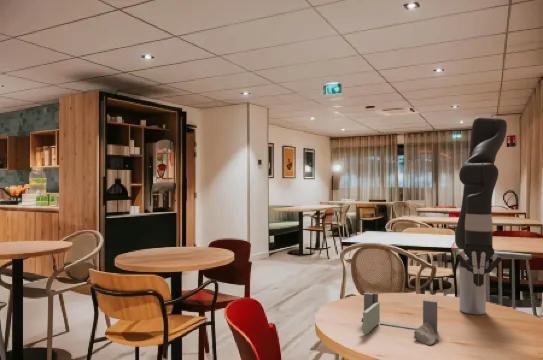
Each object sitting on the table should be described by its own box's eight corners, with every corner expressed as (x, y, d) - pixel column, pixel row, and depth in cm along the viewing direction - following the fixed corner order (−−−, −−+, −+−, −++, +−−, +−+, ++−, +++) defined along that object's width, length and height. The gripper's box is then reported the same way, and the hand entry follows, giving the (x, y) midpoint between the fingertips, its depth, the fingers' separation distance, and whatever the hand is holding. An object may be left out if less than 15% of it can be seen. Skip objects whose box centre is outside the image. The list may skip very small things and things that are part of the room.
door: (379, 322, 149) (379, 302, 149) (366, 334, 137) (366, 312, 137) (372, 321, 150) (372, 301, 150) (359, 333, 138) (359, 311, 138)
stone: (445, 336, 138) (445, 323, 138) (432, 346, 129) (432, 333, 129) (425, 332, 142) (425, 320, 142) (411, 342, 133) (411, 328, 133)
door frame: (365, 319, 154) (365, 291, 154) (437, 329, 143) (437, 300, 143) (363, 321, 151) (363, 293, 151) (436, 332, 140) (436, 302, 140)
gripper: (454, 228, 128) (454, 286, 128) (504, 231, 122) (504, 291, 122) (455, 226, 134) (455, 281, 134) (502, 228, 129) (502, 285, 129)
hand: (478, 285), depth 128 cm, fingers closed
